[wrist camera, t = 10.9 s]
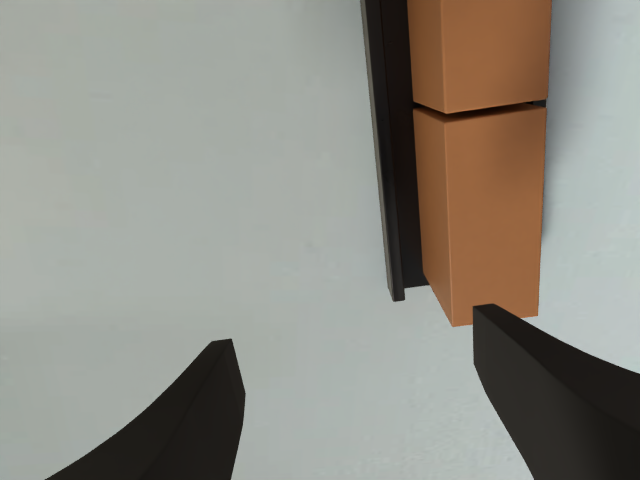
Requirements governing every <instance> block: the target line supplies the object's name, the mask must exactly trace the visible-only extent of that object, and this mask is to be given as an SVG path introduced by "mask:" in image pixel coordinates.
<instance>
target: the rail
mask: <svg viewBox="0 0 640 480" xmlns="http://www.w3.org/2000/svg"><path fill="white" fill-rule="evenodd" d="M360 3H361V14H362V24H363V34H364V45H365V55H366V65H367V76H368V86H369V96H370V107H371V117H372V128H373V138H374V148H375V159H376V169H377V179H378V190H379V200H380V211H381V221H382V231H383V242H384V252H385V262H386V273H387V283H388V289H389V291H390V294H391V297H392V300H393V302H396V301H403V300H405V292H404V288H410V287H418V286H425V285H430V284H429V282H428V280H427V279H426V277H425V275H424V273H423V262H422V246H421V230H420V214H419V198H418V182H417V167H416V151H415V135H414V119H413V108H418V107H425V105H422V104H419V103H417V102H414V100H413V88H412V72H411V56H410V39H409V23H408V7H407V0H360ZM523 103H525V104H530V105H535V106H541V107H546V99H544V100H537V101H530V102H523Z"/></svg>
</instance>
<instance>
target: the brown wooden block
mask: <svg viewBox="0 0 640 480" xmlns="http://www.w3.org/2000/svg"><path fill="white" fill-rule="evenodd" d="M407 7H408V23H409V39H410V56H411V72H412V88H413V100H414V102H417V103H419V104H422V105H425V106H427V107H430V108H433V109H435V110H438V111H441V112H443V113H446V114H448V113H455V112H462V111H469V110H476V109H482V108H489V107H496V106H503V105H510V104H516V103H523V102H530V101H537V100H544V99H546V98H547V97H548V80H549V57H550V33H551V10H552V0H407Z"/></svg>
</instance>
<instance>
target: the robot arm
mask: <svg viewBox="0 0 640 480" xmlns="http://www.w3.org/2000/svg"><path fill="white" fill-rule="evenodd" d="M473 351H474V365H475V368H476V370H477V373H478V375H479V378H480V380H481V383H482V385H483V388H484V390H485V392H486V394H487V396H488V398H489V400H490V401H491V403H492V405H493V407H494V408H495V410H496V412H497V414H498V416H499V417H500V419H501V421H502V422H503V424H504V426H505V428H506V429H507V431H508V433H509V434H510V436H511V438H512V440H513V441H514V443H515V445H516V447H517V448H518V450H519V452H520V453H521V455H522V457H523V459H524V460H525V462H526V464H527V466H528V468H529V470H530V472H531V474H532V476H533V478H534V480H640V374H639V373H636V372H633V371H630V370H627V369H624V368H622V367H619V366H616V365H614V364H611V363H609V362H607V361H604V360H602V359H599V358H597V357H594V356H592V355H590V354H587V353H585V352H583V351H581V350H579V349H577V348H575V347H573V346H571V345H569V344H566V343H564V342H562V341H560V340H559V339H557V338H555V337H553V336H551V335H549V334H547V333H545V332H544V331H542V330H540V329H538V328H536V327H535V326H533V325H531V324H529V323H528V322H526V321H524V320H522V319H521V318H519V317H517V316H516V315H514V314H512V313H510V312H509V311H507V310H505V309H503V308H502V307H500V306H498V305H496V304H494V303H491V304H484V305H477V306H473ZM245 394H246V393H245V389H244V385H243V381H242V377H241V373H240V370H239V366H238V362H237V358H236V354H235V350H234V346H233V342H232V339H225V340H217V341H212V342H211V343H210V344H209V345H208V346H207V347H206V348H205V349H204V350H203V351H202V352H201V353H200V354H199V355H198V356H197V358H196V359H195V360H194V361H193V362H192V363H191V364H190V365H189V366H188V367H187V368H186V370H185V371H184V372H183V373H182V374H181V375H180V376H179V377H178V378H177V379H176V380H175V381H174V382H173V383H172V384H171V385H170V386H169V387H168V388H167V389H166V390H165V391H164V392H163V393H162V394H161V395H160V396H159V397H158V398H157V399H156V400H155V401H154V402H153V403H152V404H151V405H150V406H149V407H147V408H146V409H145V410H144V411H143V412H142V413H141V414H140V415H138V416H137V417H136V418H135V419H134V420H132V421H131V422H130V423H129V424H127V425H126V426H125V427H124V428H122V429H121V430H120V431H119V432H117V433H116V434H115V435H113V436H112V437H110V438H109V439H108V440H106V441H105V442H103V443H102V444H100V445H99V446H98V447H96V448H95V449H93V450H92V451H91V452H89V453H88V454H86V455H85V456H83V457H82V458H80V459H79V460H77V461H75V462H74V463H72V464H71V465H69V466H67V467H66V468H64V469H62V470H61V471H59V472H57V473H56V474H54V475H52V476H51V477H49V478H47V479H45V480H231V476H232V472H233V467H234V463H235V458H236V454H237V450H238V445H239V440H240V436H241V431H242V426H243V418H244V407H245Z"/></svg>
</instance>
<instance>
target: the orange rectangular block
mask: <svg viewBox="0 0 640 480" xmlns="http://www.w3.org/2000/svg"><path fill="white" fill-rule="evenodd" d="M546 115H547V108H546V107H541V106H535V105H530V104H525V103H516V104H510V105H503V106H496V107H489V108H482V109H476V110H469V111H462V112H455V113H448V114H446V113H443V112H441V111H438V110H435V109H433V108H430V107H427V106H425V107H418V108H413V119H414V135H415V151H416V167H417V182H418V198H419V214H420V230H421V246H422V262H423V273H424V275H425V277H426V279H427V280H428V282H429V284H430V286H431V288H432V290H433V292H434V294H435V295H436V297H437V299H438V301H439V303H440V305H441V307H442V309H443V310H444V312H445V314H446V316H447V318H448V320H449V322H450V324H451V325H452V327H456V326H464V325H472V324H473V306H477V305H484V304H491V303H494V304H496V305H498V306H500V307H502V308H503V309H505V310H507V311H509V312H510V313H512V314H514V315H516V316H517V317H519V318H525V317H533V316H538V303H539V280H540V256H541V233H542V209H543V186H544V162H545V139H546Z"/></svg>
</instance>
